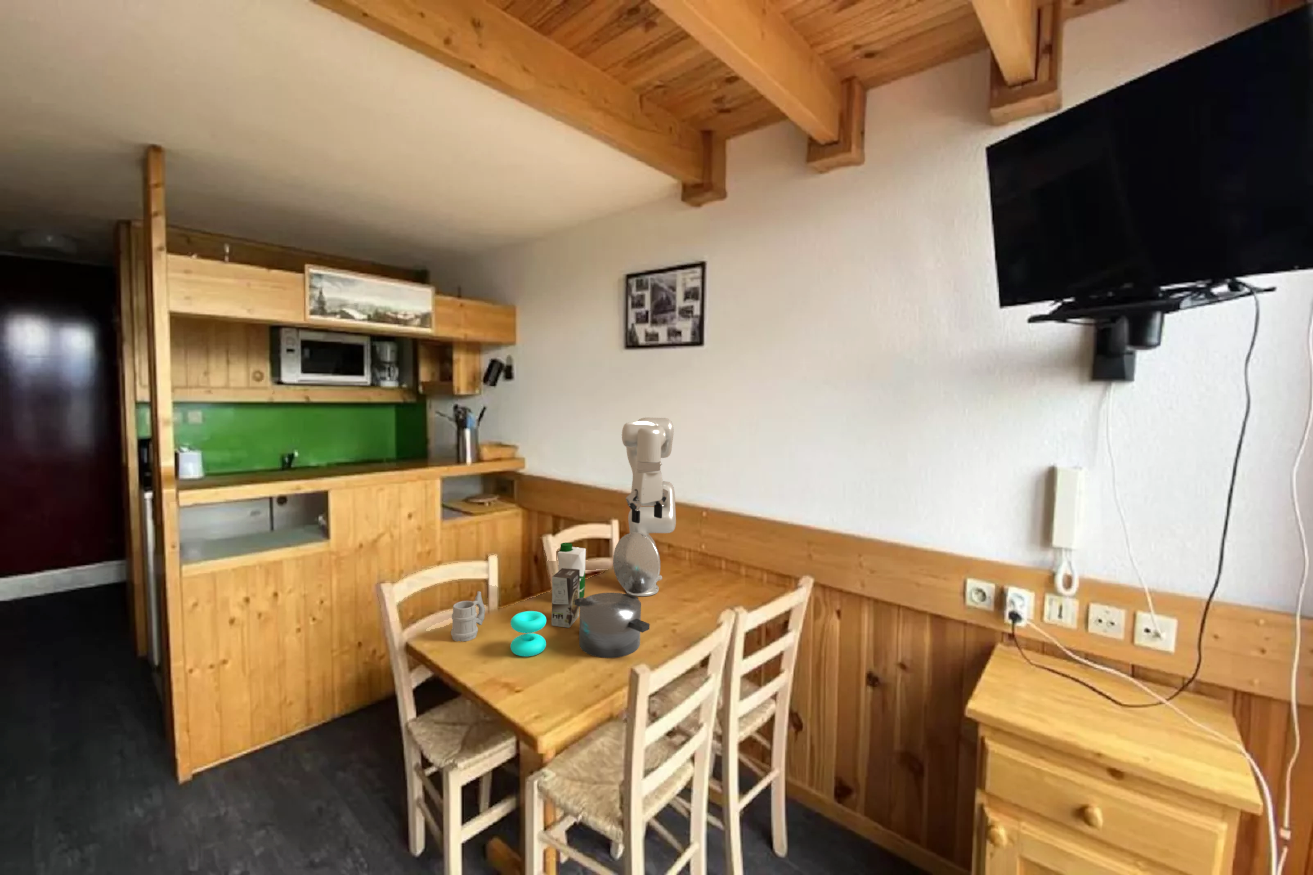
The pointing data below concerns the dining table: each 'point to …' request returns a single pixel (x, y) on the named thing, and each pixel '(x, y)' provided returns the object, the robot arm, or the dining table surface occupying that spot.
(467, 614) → the mug
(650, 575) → the lid
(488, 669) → the dining table surface
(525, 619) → the donuts
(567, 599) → the coffee box
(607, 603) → the cooker pot
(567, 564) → the milk carton
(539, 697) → the dining table surface
